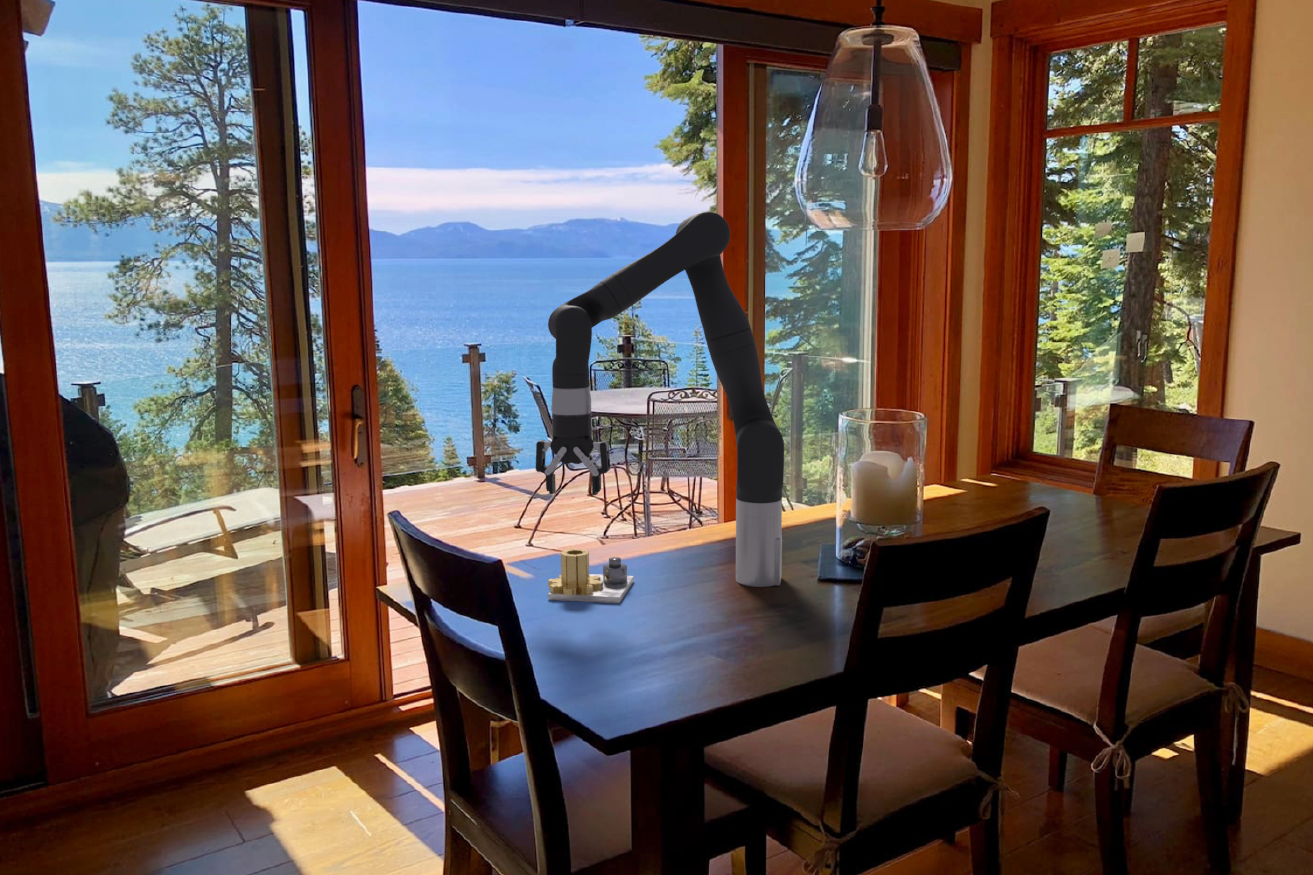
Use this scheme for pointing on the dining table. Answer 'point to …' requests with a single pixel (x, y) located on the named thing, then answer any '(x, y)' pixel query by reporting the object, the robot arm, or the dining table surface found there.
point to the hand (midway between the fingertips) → (573, 493)
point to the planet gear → (575, 574)
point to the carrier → (604, 585)
